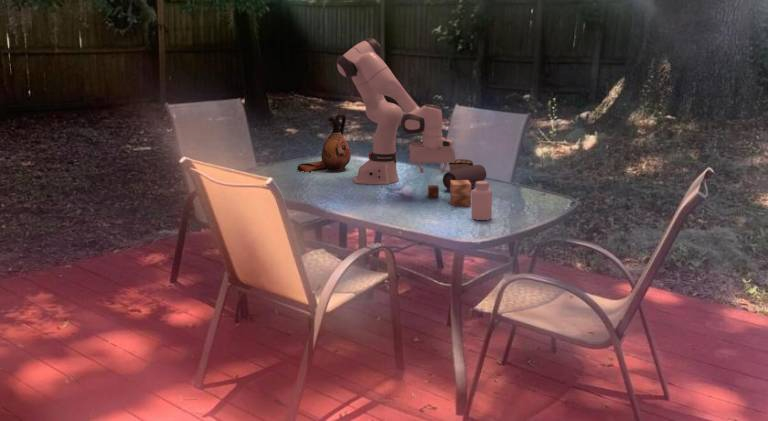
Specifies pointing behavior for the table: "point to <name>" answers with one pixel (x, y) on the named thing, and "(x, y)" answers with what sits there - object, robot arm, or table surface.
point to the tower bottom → (461, 201)
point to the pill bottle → (481, 201)
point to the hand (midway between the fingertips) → (432, 172)
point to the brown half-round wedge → (460, 164)
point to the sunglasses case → (312, 166)
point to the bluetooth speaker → (465, 175)
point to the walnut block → (433, 191)
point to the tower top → (460, 187)
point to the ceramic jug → (336, 146)
